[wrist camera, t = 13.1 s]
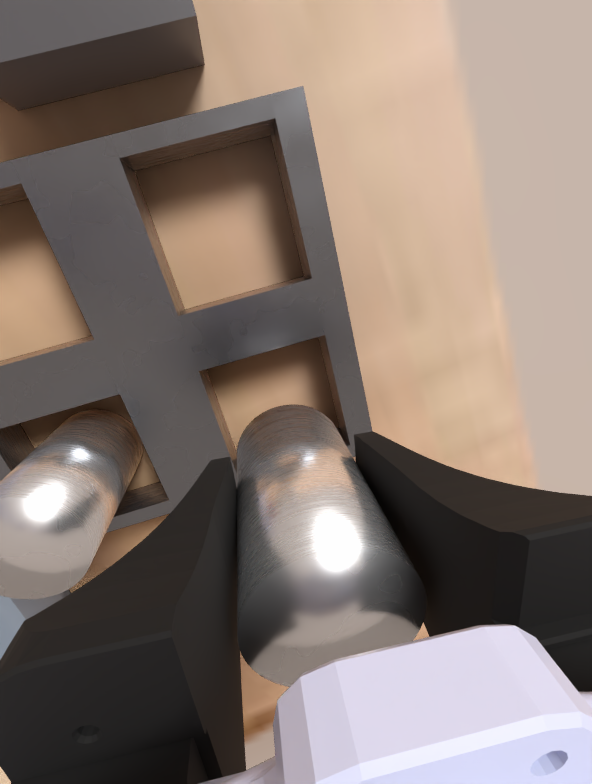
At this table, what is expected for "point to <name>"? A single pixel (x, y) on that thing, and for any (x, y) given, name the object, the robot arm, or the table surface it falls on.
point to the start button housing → (91, 46)
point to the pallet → (171, 296)
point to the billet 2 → (314, 551)
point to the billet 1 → (64, 503)
